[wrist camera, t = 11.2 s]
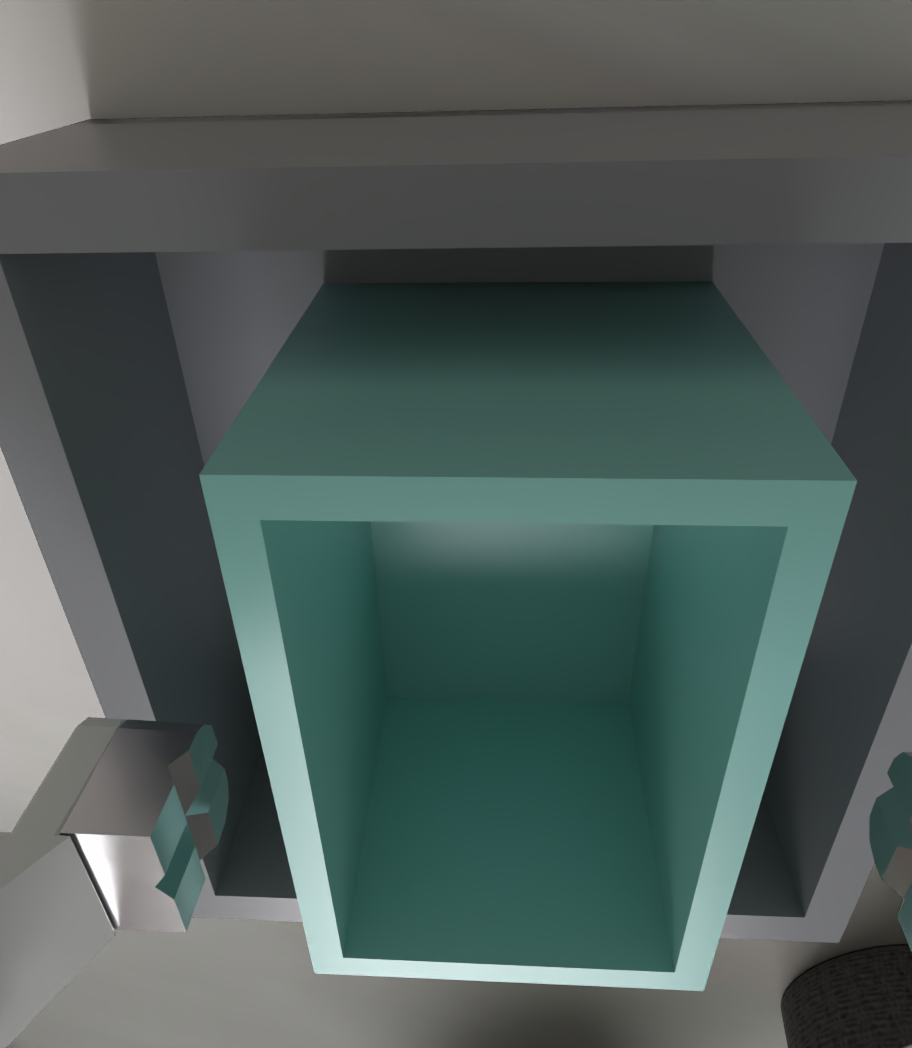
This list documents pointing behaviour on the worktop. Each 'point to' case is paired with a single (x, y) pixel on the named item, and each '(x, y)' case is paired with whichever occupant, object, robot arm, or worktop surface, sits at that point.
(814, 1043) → the coffee cup
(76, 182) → the large crate
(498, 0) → the worktop surface
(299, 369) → the small crate
